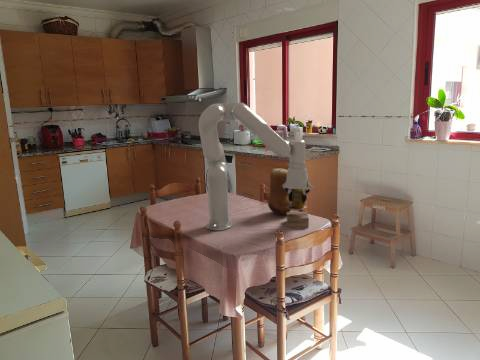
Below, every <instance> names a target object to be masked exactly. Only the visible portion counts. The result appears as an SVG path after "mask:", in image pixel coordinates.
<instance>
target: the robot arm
mask: <svg viewBox="0 0 480 360" xmlns="http://www.w3.org/2000/svg"><path fill="white" fill-rule="evenodd" d="M222 121H223V122H224V121H227V122H229V121H236V122H237V123H238V124H239V125H241V127H243V128H244V129H246V131H247V132H249V133H250V134H251V135H252V136H253V137H255V139H256V140H258V141H260V142H261V143H262V144H263V145H264V146H265V147H266V148H268V149H269V150H270V152H273V154H274V155H276V156H277V157H279V158H287V157H288V156H289V162H286V166H287V167H288V168H287V170H288V171H287V179H286V182H285V183H284V184H283V185H282V187H283V188H284V189H285V190H286V191H287V192H288V195H289V202H291V201H292V189H297V190H302V191H303V203H304V204H305V203H306V201H307V200H308V199H307V196H308V193H310V192H311V191H312V190H313V189H314V186H313V185H312V184H311V183H310V182H309V174H308V170H307V167H306V141H305V140H303V139H292V140H291V139H290V140H289V139H284V138H282V137H281V136H280V135H279V134H278V133H276V131H275V130H273V129H272V127H271V126H270V125H269V124H268V122H266V121H265V120H264V119H263V118H262V117H260V116H259V115H258V114H257V113H256V111H253V110H252V109H251V108H250V107H249V106H248V105H247V104H246V103H245V102H231V103H229V102H227V103H223V102H222V103H213V104H211V105H209V106H208V107H207V108H205V109H204V110H203V111H202V113H201V114H200V116H199V119H198V132H199V136H200V142H201V148H202V154H203V157H204V159H205V160H206V164H207V169H208V170H207V173H206V181H207V195H208V196H207V197H208V212H209V213H208V215H209V217H208V218H209V219H208V220H209V221H208V222H207V224H206V225H205V227H206V229H209V230H212V231H226V230H229V229H230V228H232V227H233V223H232V222H231V221H229V219H230V218H229V215H230V213H229V196H228V165H227V164H228V163H227V160H226V159H227V158H226V156H225V151H224V146H223V144H222V143H221V142H220V139H219V138H220V137H219V133H218V127H217V126H218V124H219V122H222ZM307 188H308V189H307Z"/></svg>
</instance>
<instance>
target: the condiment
mask: <svg viewBox="0 0 480 360" xmlns="http://www.w3.org/2000/svg"><path fill="white" fill-rule="evenodd" d="M286 208H289V209H291V210H294V211H296V212H299V210H303V209H306V208H308V206H306V205H305V203H303V191H302V190H297V189H292V206H288V207H286Z"/></svg>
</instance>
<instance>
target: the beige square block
mask: <svg viewBox="0 0 480 360" xmlns="http://www.w3.org/2000/svg"><path fill="white" fill-rule="evenodd" d="M309 219H310V218H309V216H308V213H307V211H293V212H291V211H290V212H287V214H286V225H287V228H288V229H289V228H291V229H292V228H293V229H298V228H300V229H301V228H305V229H307V228H309V226H310V225H309V223H310V221H309Z"/></svg>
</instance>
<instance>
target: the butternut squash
mask: <svg viewBox="0 0 480 360" xmlns="http://www.w3.org/2000/svg"><path fill="white" fill-rule="evenodd" d="M287 171H288V169H285V168H273V169H272V170H271V171H270V173H269V174H270V175H269V180H270V181H269V182H270V185H269V195H268V198H267V206H268V208H269V210H270V211H271V212H272V213H274V214H277V216H284V215H287V212H291V210H292V209H289V208H286V207H288V206H292V201H291V202H289V195H288V192H287V191H286V190H285V189H284V188H283V187H282V185H283V184H284V183H285V182H286V179H287Z"/></svg>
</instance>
